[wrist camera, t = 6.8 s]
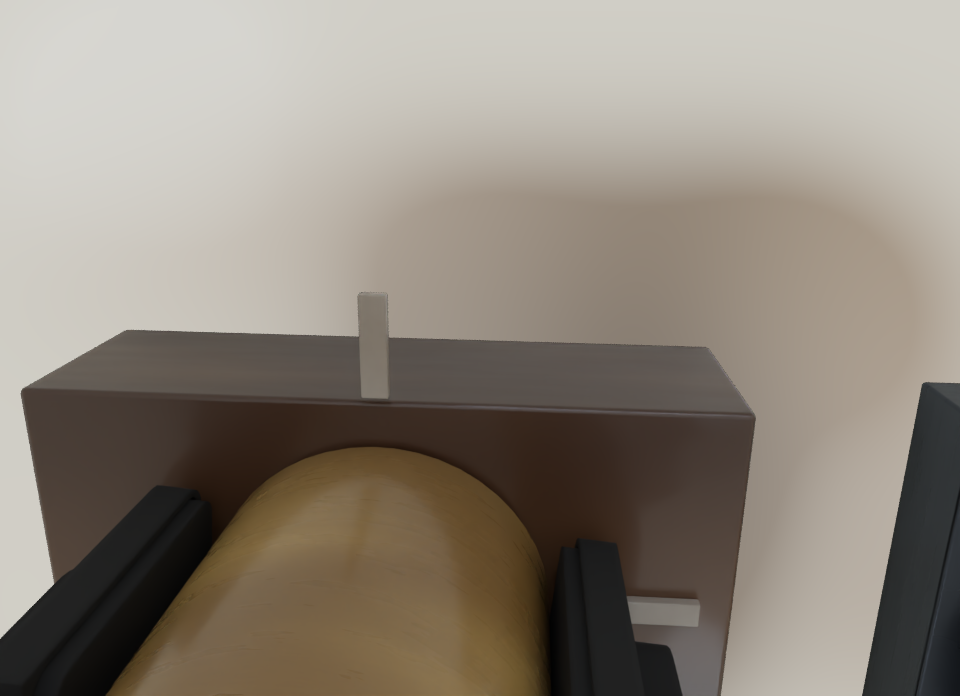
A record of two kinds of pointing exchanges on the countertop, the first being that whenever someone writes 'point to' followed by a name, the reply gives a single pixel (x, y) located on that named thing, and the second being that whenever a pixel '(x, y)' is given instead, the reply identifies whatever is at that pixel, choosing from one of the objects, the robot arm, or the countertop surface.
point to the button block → (923, 562)
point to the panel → (425, 445)
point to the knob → (358, 591)
